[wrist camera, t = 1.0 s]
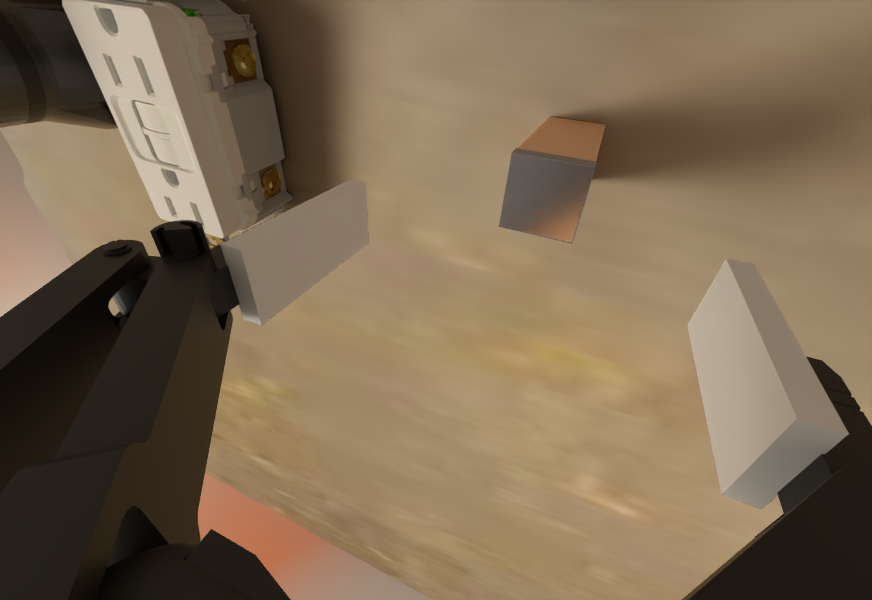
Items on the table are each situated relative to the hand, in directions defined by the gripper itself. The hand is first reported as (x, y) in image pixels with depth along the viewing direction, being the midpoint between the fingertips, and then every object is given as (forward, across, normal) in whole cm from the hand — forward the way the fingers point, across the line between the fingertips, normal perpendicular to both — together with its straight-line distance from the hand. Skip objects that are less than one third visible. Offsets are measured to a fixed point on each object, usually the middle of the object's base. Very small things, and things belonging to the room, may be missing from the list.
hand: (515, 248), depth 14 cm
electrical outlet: (+19, -33, -2) cm, 38 cm away
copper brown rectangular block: (+19, 0, 0) cm, 19 cm away
